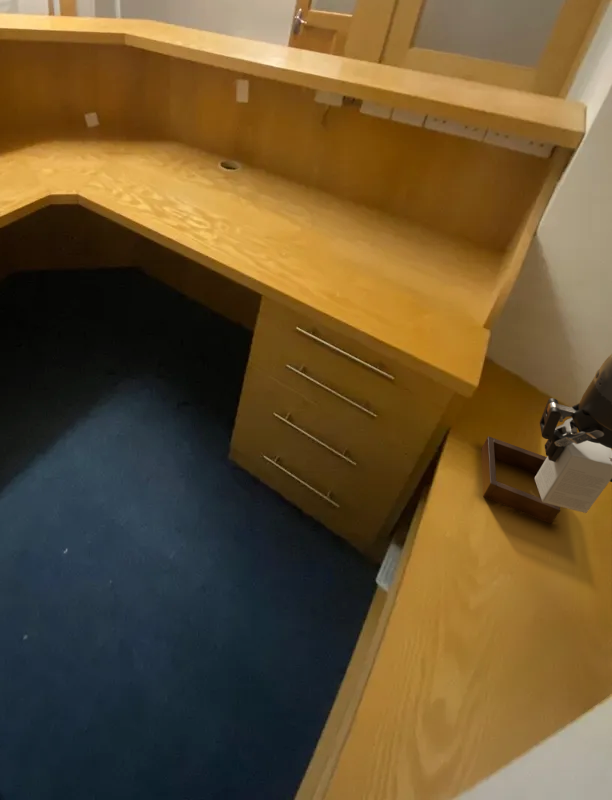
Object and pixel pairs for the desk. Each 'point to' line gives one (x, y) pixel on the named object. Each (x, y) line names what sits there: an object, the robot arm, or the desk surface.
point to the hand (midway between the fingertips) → (578, 465)
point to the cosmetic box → (575, 476)
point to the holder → (509, 494)
